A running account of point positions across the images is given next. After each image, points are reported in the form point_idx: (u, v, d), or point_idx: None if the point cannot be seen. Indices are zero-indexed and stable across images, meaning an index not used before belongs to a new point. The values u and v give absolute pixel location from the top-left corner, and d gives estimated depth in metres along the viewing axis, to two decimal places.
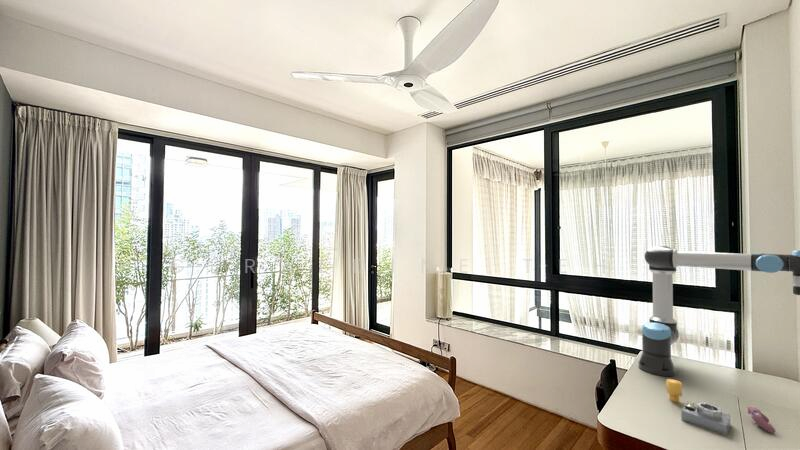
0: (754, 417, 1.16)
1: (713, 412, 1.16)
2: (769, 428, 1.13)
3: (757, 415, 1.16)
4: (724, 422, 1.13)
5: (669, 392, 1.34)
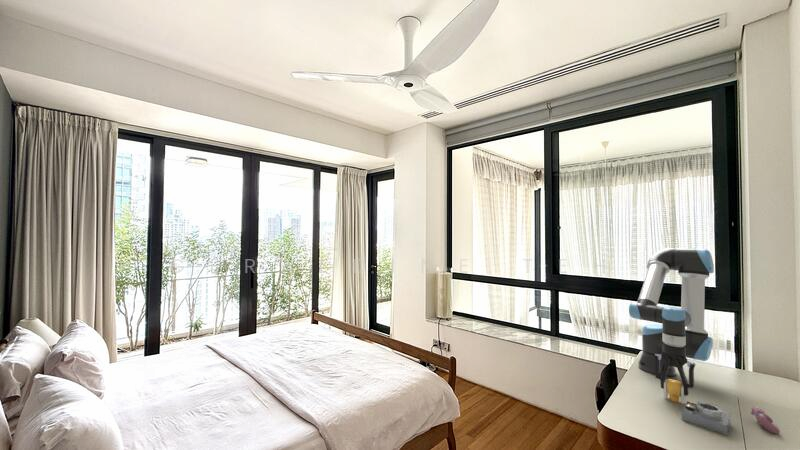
0: (758, 418, 1.15)
1: (713, 412, 1.16)
2: (774, 429, 1.13)
3: (761, 416, 1.15)
4: (724, 422, 1.13)
5: (669, 392, 1.34)
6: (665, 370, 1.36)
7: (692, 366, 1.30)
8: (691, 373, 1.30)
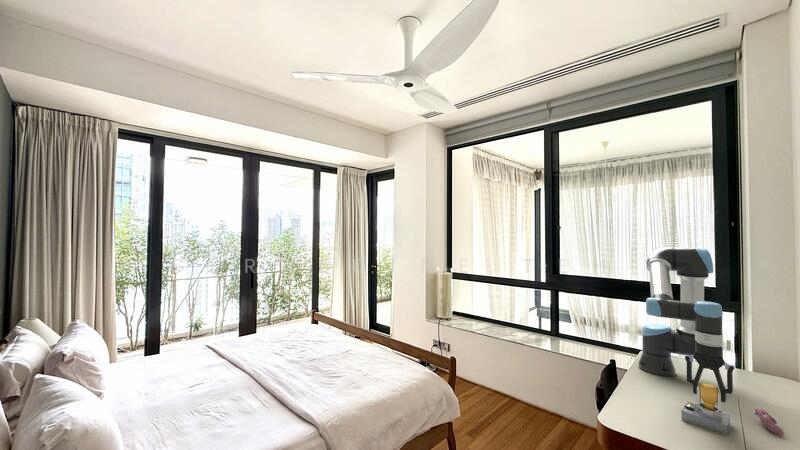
0: (762, 419, 1.15)
1: (713, 412, 1.16)
2: (778, 430, 1.12)
3: (765, 417, 1.15)
4: (724, 422, 1.13)
5: (703, 398, 1.18)
6: (698, 373, 1.20)
7: (731, 369, 1.14)
8: (730, 377, 1.14)
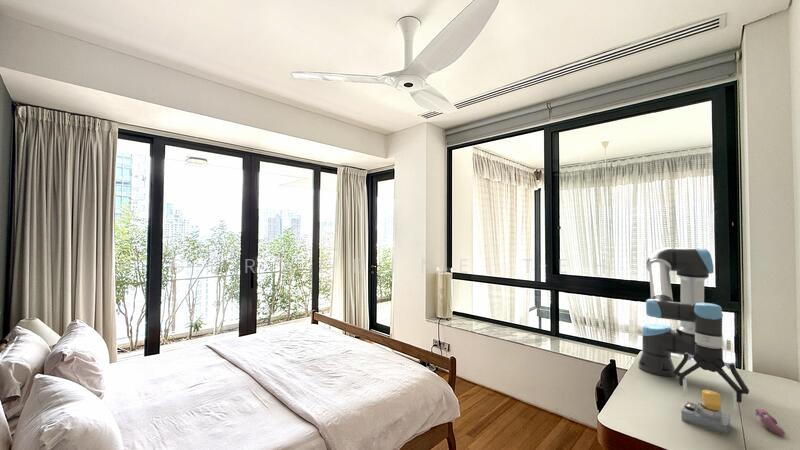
0: (763, 419, 1.15)
1: (713, 412, 1.16)
2: (778, 431, 1.12)
3: (766, 417, 1.15)
4: (724, 422, 1.13)
5: (705, 405, 1.18)
6: (690, 369, 1.22)
7: (732, 366, 1.14)
8: (736, 375, 1.13)
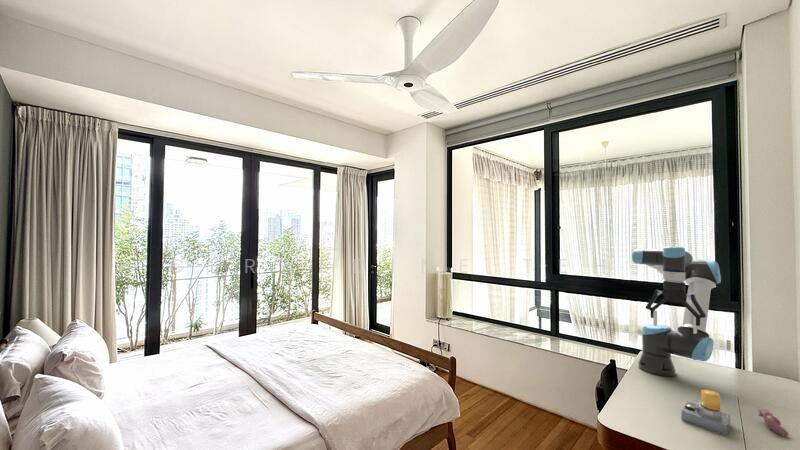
0: (766, 420, 1.14)
1: (713, 412, 1.16)
2: (782, 432, 1.12)
3: (769, 418, 1.14)
4: (724, 422, 1.13)
5: (705, 405, 1.18)
6: (659, 303, 1.44)
7: (692, 296, 1.36)
8: (695, 303, 1.35)
